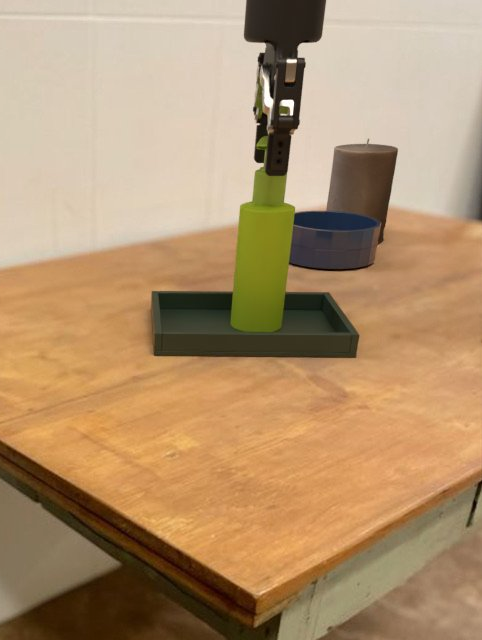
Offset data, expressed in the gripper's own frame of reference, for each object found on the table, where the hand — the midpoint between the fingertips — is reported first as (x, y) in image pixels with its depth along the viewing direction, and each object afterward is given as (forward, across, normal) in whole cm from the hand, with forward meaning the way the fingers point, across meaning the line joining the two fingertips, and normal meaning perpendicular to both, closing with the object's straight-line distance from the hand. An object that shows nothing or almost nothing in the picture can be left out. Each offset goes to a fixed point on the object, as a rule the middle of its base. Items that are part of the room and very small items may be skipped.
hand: (269, 168), depth 85 cm
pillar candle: (+18, +46, -22) cm, 54 cm away
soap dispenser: (+17, 0, 0) cm, 17 cm away
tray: (+17, -1, +1) cm, 17 cm away
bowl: (+17, +33, -15) cm, 40 cm away
